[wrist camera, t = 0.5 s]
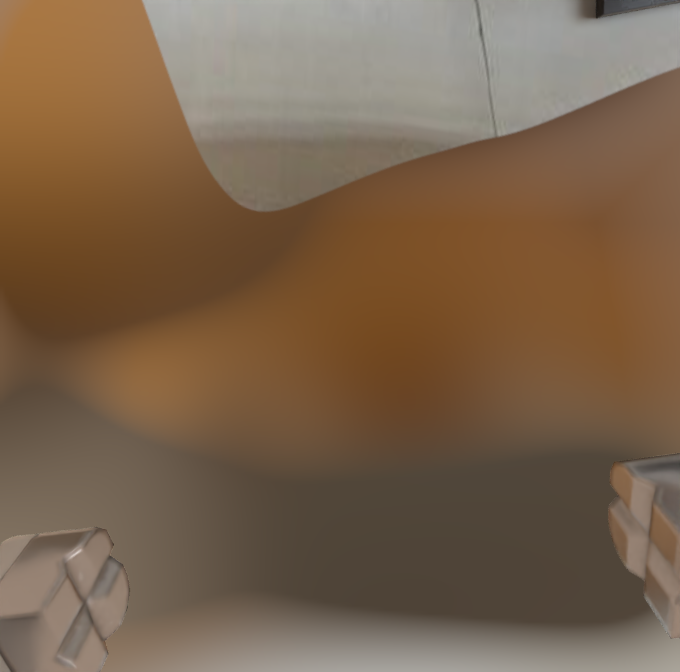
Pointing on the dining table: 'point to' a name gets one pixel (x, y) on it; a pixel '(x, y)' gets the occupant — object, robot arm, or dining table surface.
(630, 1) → the bracket
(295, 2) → the dining table surface
